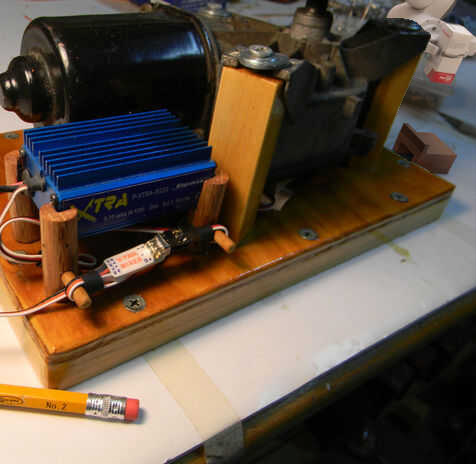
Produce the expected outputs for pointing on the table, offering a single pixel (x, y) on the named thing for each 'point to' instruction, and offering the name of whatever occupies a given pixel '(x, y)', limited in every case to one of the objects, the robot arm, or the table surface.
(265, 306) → the table surface
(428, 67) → the ink box
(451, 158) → the dark brown wooden box
